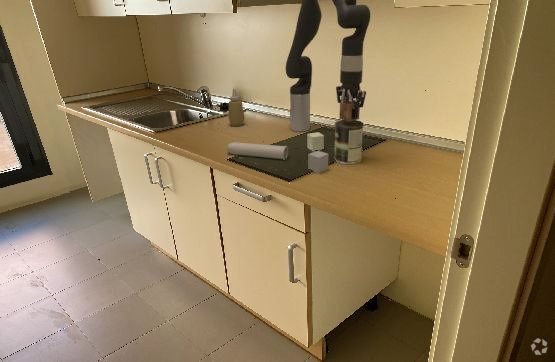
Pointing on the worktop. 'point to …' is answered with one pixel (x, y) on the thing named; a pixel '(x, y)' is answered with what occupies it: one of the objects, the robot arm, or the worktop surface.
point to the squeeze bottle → (236, 110)
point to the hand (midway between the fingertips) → (349, 117)
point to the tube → (258, 150)
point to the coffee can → (348, 141)
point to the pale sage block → (315, 141)
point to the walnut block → (347, 111)
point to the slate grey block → (318, 161)
